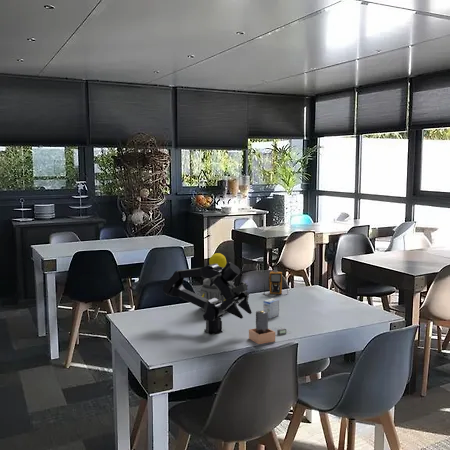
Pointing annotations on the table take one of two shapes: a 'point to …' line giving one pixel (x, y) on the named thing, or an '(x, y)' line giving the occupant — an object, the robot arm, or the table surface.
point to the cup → (262, 336)
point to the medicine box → (271, 307)
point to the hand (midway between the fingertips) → (246, 315)
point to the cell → (261, 322)
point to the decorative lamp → (209, 290)
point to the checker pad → (280, 331)
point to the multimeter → (275, 282)
